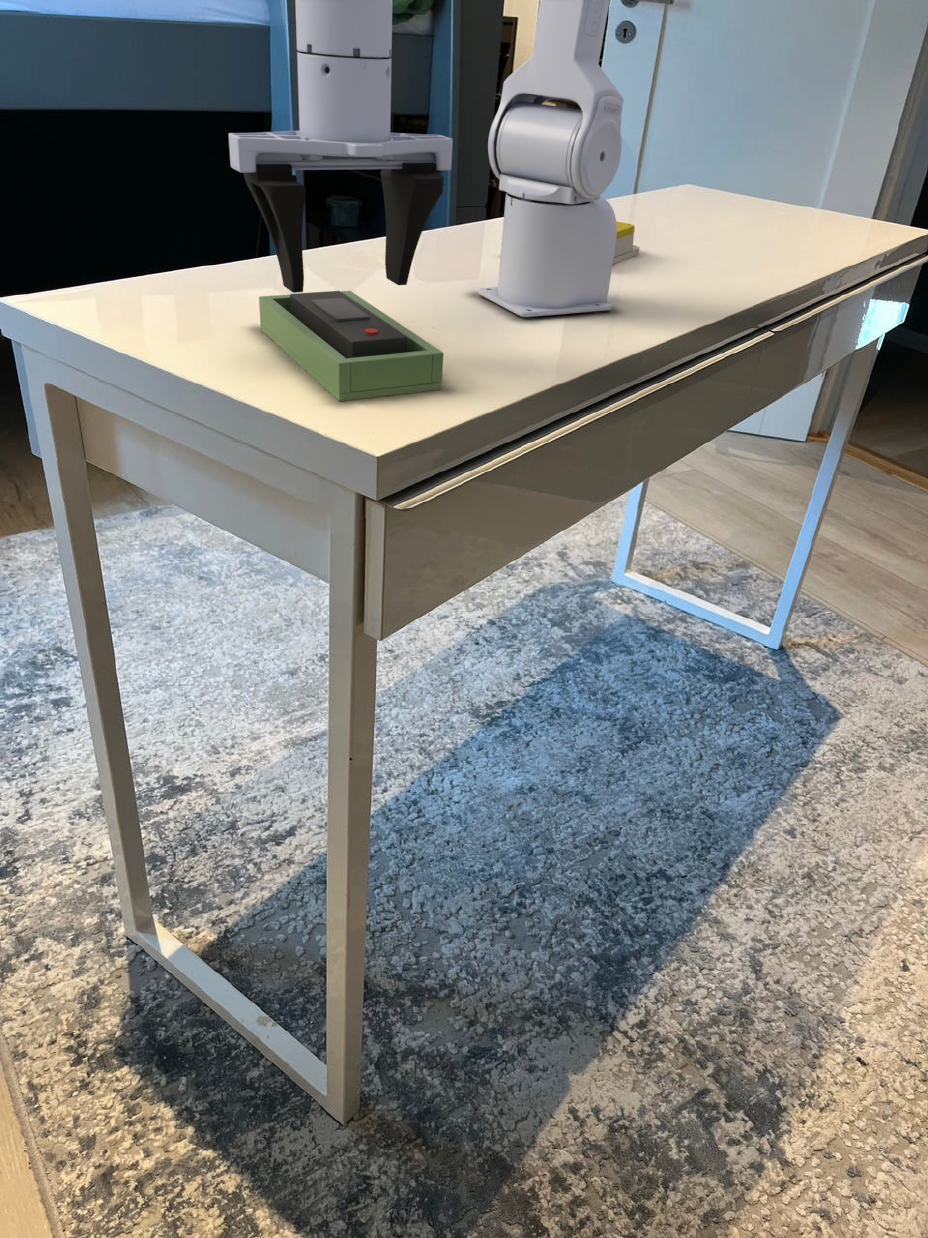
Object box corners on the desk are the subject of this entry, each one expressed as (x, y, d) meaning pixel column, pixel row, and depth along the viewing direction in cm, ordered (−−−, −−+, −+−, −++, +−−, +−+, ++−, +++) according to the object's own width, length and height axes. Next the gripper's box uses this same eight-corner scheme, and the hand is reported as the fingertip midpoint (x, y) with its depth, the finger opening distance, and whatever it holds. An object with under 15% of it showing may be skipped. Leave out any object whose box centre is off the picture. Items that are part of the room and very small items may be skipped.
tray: (350, 322, 74) (350, 290, 72) (441, 389, 62) (443, 352, 61) (260, 329, 71) (258, 296, 69) (339, 401, 59) (339, 362, 58)
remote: (290, 328, 70) (289, 291, 68) (340, 324, 71) (339, 288, 70) (352, 380, 61) (352, 339, 59) (406, 374, 63) (408, 334, 61)
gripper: (248, 54, 50) (262, 308, 58) (480, 64, 56) (465, 292, 64) (212, 45, 55) (229, 280, 63) (428, 55, 61) (421, 268, 69)
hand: (346, 285), depth 64 cm, fingers open, 7 cm apart
